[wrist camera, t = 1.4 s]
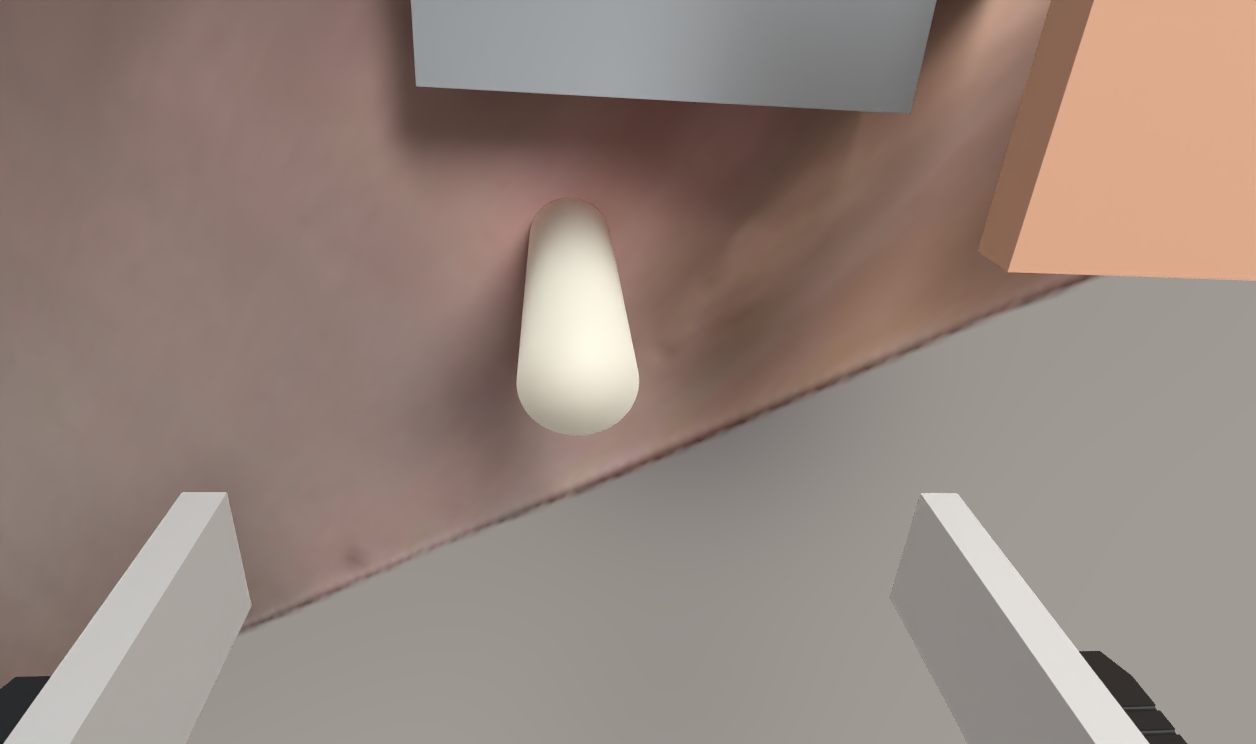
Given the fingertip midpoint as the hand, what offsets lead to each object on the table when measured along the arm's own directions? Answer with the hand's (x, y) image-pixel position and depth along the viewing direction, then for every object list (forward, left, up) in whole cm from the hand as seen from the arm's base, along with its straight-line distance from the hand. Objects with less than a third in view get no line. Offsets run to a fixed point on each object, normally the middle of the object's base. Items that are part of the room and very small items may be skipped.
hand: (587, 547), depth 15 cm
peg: (0, 0, -18) cm, 18 cm away
